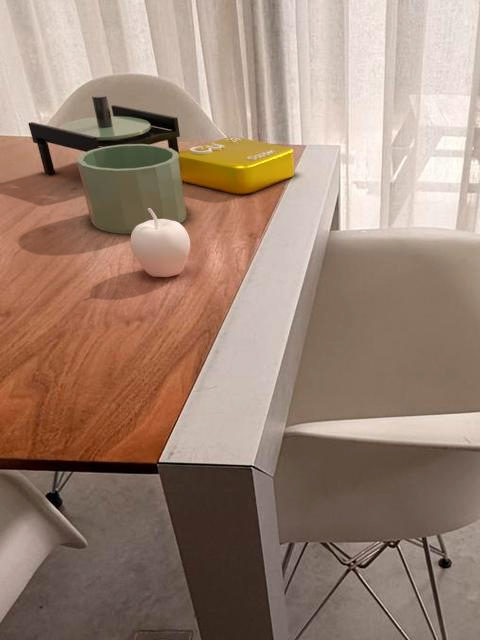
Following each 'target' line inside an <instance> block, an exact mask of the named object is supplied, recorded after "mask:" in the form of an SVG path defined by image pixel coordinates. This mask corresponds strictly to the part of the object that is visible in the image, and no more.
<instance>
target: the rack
mask: <svg viewBox="0 0 480 640" xmlns="http://www.w3.org/2000/svg"><path fill="white" fill-rule="evenodd" d="M110 107H111V111H112V116H122V117H133V118H139V119H143V120H146V121H148V122H149V123H150V125H151V129H150V130H149V131H148V132H146V133H144V134H141V135H138V136H133V137H130V138H126V139H121V140H113V141H97V138H96V137H94V136H89V135H85V134H81V133H76V132H72V131H68V130H64V129H59V127H54V126H50V125H46V124H42V123H38V122H34V121H31V122H28V123H27V124H28V128H29V132H30V136H31V140H32V143H33V144H37V148H38V151H39V155H40V160H41V163H42V167H43V171H44V174H45V175H48V176H53V175H56V171H55V166H54V163H53V159H52V155H51V151H50V147H49V144H52V145H56V146H59V147H60V146H61V147H65V148H68V149H73V150H77V151H80V152H83V153H86V152H87V151H90V150H94V149H98V148H102V147H107V146H115V145H124V144H148V145H155V144H157V143H161V142H165V141H167V146H168V148H171V149H173V150H175V151H176V152H178V153H179V152H180V150H179V143H178V138H179V137H181V134H180V133H181V132H180V127H179V119H178V117H176V116H171V115H166V114H161V113H156V112H151V111H147V110H141V109H136V108H131V107H126V106H121V105H116V104H113V105H110Z"/></svg>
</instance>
